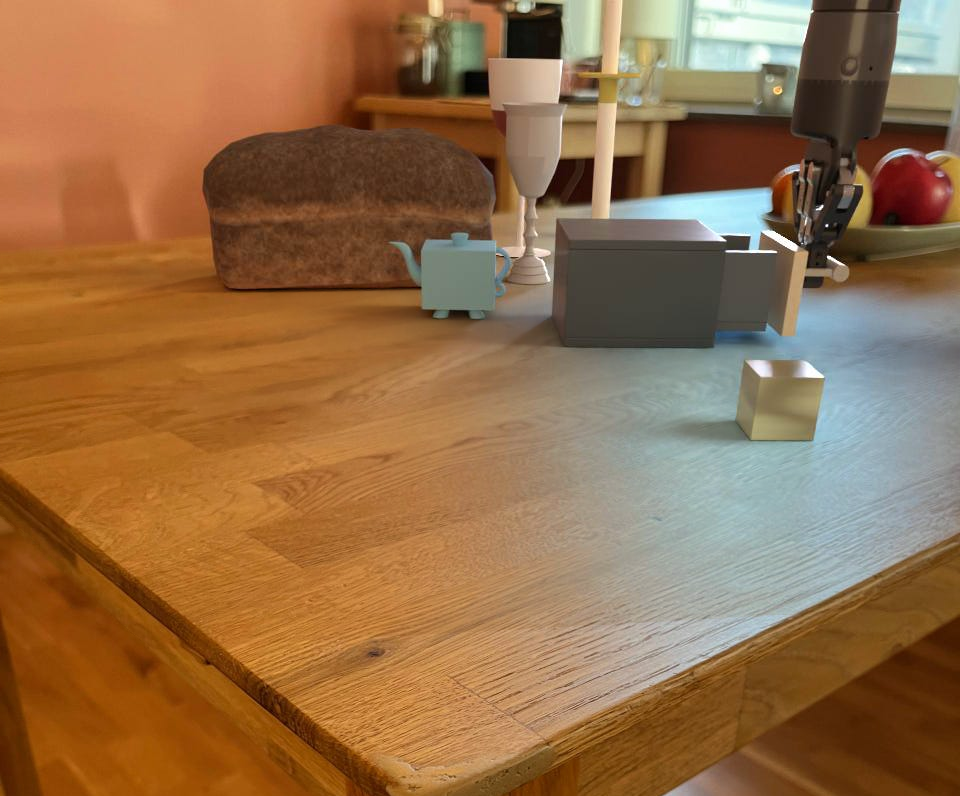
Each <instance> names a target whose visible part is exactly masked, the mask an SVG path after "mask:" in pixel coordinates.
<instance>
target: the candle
mask: <svg viewBox="0 0 960 796" xmlns="http://www.w3.org/2000/svg"><path fill="white" fill-rule="evenodd" d="M604 8H605V9H604V10H605V11H604V22H603V23H604V25H603V39H602V40H603V41H602V56H601V71H600V72H577V73H576V74H577V77H578V78H585V79H586V78H587V79H588V78H589V79H590V78H591V79H598V82H599V83H598V99H597V114H596V115H597V116H596V130H595V148H594V160H593V161H594V162H593V163H594V164H593V179H592V180H593V181H592V195H591V196H592V198H591V211H590V212H591V213H590V219H610V207H611V206H610V204H611V189H612V179H613V178H612V177H613V163H614V150H615V149H614V148H615V135H616V119H617V106H618V105H617V104H618V91H619V81H620V80H621V79H640V78H642V75H643V74H642V73H636V72H619V71H618V70H619V69H618V68H619V59H620V58H619V56H620V55H619V54H620V42H621V41H620V40H621V28H622V15H623V14H622V13H623V12H622V11H623V0H605V7H604Z"/></svg>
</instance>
